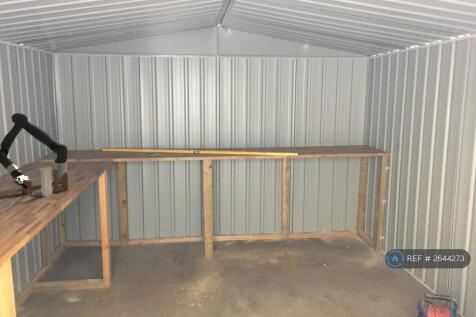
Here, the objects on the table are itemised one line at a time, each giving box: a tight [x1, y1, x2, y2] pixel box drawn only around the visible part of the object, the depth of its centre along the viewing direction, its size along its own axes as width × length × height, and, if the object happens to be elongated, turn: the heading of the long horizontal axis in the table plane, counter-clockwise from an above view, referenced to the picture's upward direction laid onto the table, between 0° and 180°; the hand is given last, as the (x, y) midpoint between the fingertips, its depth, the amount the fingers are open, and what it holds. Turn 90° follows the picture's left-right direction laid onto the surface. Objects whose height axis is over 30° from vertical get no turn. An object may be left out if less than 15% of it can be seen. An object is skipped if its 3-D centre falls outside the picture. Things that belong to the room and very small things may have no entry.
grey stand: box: [28, 166, 54, 198], centre depth 316 cm, size 11×13×21 cm
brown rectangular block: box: [20, 180, 33, 195], centre depth 320 cm, size 4×6×10 cm, turn 78°
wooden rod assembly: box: [52, 168, 69, 193], centre depth 331 cm, size 4×11×18 cm, turn 140°
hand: (28, 187), depth 319 cm, fingers closed on brown rectangular block, 4 cm apart
